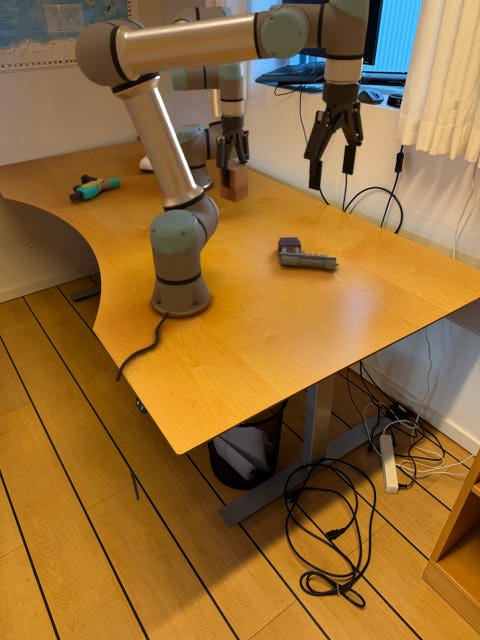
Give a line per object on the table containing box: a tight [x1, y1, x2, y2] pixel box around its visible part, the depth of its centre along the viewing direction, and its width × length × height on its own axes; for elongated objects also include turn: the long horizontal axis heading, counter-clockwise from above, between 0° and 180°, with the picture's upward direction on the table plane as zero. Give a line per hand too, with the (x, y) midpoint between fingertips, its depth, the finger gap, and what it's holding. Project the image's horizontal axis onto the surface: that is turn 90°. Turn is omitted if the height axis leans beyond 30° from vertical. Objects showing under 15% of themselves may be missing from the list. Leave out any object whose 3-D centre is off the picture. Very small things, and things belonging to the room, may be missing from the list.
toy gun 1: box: [69, 174, 122, 203], centre depth 188 cm, size 4×26×15 cm
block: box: [218, 161, 249, 203], centre depth 166 cm, size 8×7×11 cm
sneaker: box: [139, 154, 153, 171], centre depth 214 cm, size 10×29×12 cm, turn 163°
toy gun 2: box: [277, 236, 339, 270], centre depth 142 cm, size 4×19×15 cm
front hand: (331, 181), depth 111 cm, fingers open, 13 cm apart
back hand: (233, 184), depth 167 cm, fingers closed on block, 7 cm apart
